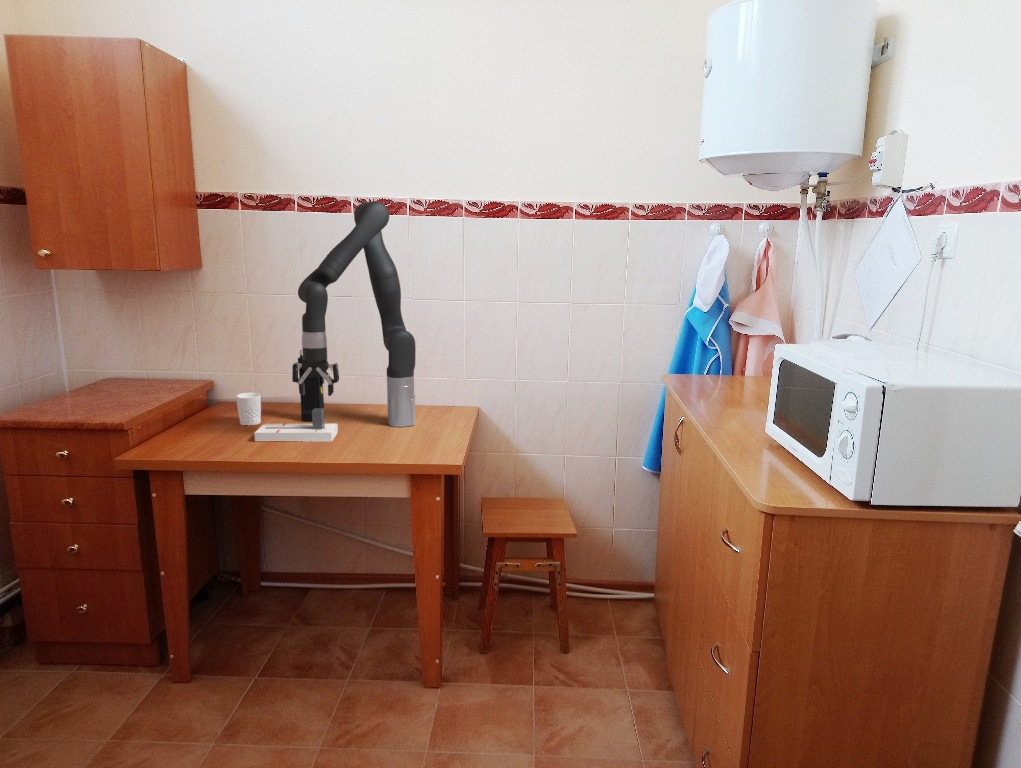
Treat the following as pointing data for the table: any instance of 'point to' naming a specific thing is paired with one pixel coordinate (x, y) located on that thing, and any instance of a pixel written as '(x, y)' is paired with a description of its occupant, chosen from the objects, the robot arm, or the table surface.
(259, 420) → the white cup
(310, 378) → the portable radio
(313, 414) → the fader tab
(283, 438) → the panel
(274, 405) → the table surface
